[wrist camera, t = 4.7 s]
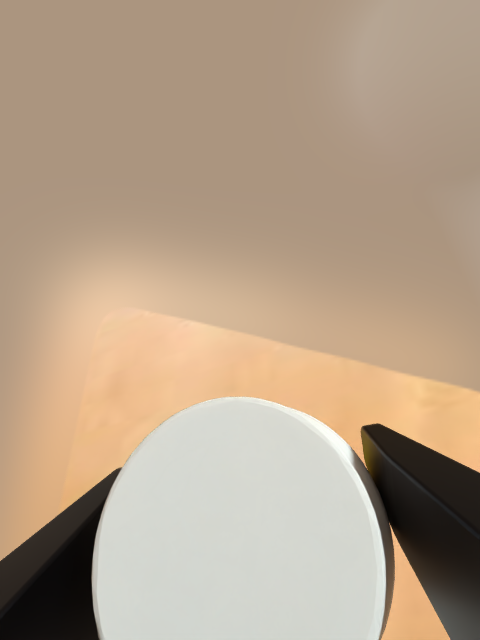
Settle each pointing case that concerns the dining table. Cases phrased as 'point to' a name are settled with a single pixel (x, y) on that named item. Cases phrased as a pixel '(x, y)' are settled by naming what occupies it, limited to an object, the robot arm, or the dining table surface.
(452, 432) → the dining table surface
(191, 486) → the supplement bottle
